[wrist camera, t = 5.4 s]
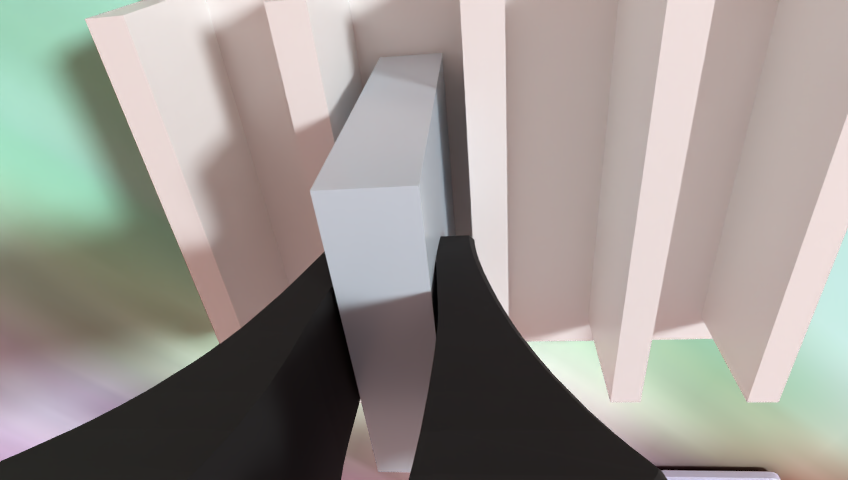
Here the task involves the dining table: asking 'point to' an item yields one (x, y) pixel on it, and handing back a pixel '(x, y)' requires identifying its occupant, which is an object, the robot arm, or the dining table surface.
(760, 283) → the dish rack
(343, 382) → the robot arm
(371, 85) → the plate tile
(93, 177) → the dining table surface
